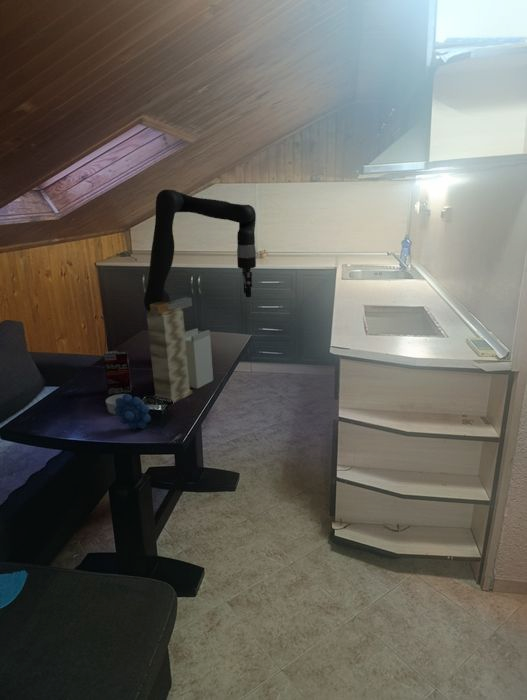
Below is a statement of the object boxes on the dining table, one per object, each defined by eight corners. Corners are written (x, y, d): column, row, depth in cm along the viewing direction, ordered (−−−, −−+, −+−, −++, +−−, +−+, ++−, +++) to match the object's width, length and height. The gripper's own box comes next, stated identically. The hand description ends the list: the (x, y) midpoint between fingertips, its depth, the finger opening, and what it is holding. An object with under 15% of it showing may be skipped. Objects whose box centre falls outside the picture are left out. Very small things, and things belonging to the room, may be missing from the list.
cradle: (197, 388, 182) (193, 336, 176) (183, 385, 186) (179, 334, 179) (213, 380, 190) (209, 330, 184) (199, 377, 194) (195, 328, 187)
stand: (172, 403, 169) (163, 314, 159) (153, 398, 174) (143, 311, 164) (192, 393, 178) (185, 307, 168) (173, 388, 183) (165, 305, 173)
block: (159, 316, 161) (157, 305, 160) (150, 315, 163) (149, 304, 162) (192, 305, 176) (192, 295, 174) (185, 305, 177) (184, 295, 176)
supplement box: (108, 394, 179) (102, 355, 174) (109, 390, 184) (104, 351, 179) (131, 392, 181) (126, 353, 176) (132, 387, 185) (127, 349, 180)
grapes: (111, 434, 147) (106, 399, 144) (120, 425, 154) (115, 391, 150) (147, 435, 146) (143, 400, 142) (154, 425, 152) (150, 391, 149)
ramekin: (122, 416, 160) (121, 405, 159) (101, 413, 163) (99, 402, 162) (138, 406, 168) (136, 395, 167) (117, 403, 171) (116, 392, 170)
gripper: (236, 254, 198) (237, 292, 203) (238, 258, 184) (239, 298, 189) (253, 253, 198) (254, 291, 203) (257, 257, 185) (258, 298, 190)
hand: (247, 295), depth 196 cm, fingers open, 8 cm apart
